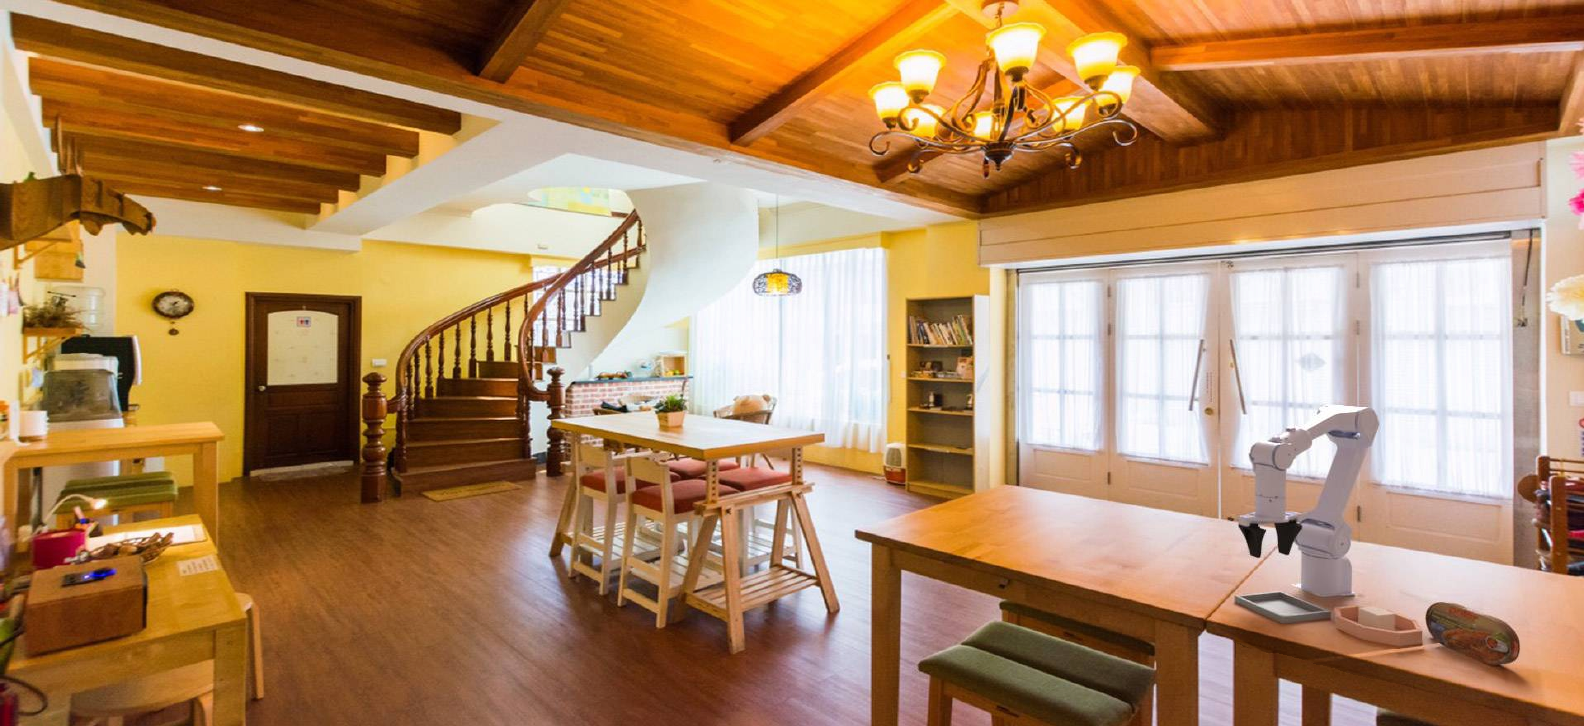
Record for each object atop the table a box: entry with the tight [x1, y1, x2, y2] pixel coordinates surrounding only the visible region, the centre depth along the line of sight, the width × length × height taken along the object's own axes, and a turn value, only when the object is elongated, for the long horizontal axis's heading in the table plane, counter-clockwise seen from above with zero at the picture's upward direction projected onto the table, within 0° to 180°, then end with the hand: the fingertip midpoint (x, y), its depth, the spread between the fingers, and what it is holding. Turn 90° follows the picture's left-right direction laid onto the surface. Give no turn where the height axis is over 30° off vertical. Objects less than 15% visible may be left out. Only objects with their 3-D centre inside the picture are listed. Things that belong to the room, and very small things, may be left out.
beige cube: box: [1358, 605, 1395, 631], centre depth 140 cm, size 4×4×4 cm
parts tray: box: [1234, 590, 1332, 625], centre depth 151 cm, size 12×12×2 cm
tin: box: [1425, 601, 1521, 666], centre depth 131 cm, size 15×3×8 cm, turn 5°
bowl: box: [1333, 604, 1423, 650], centre depth 140 cm, size 13×13×3 cm
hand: (1269, 555), depth 157 cm, fingers open, 7 cm apart
